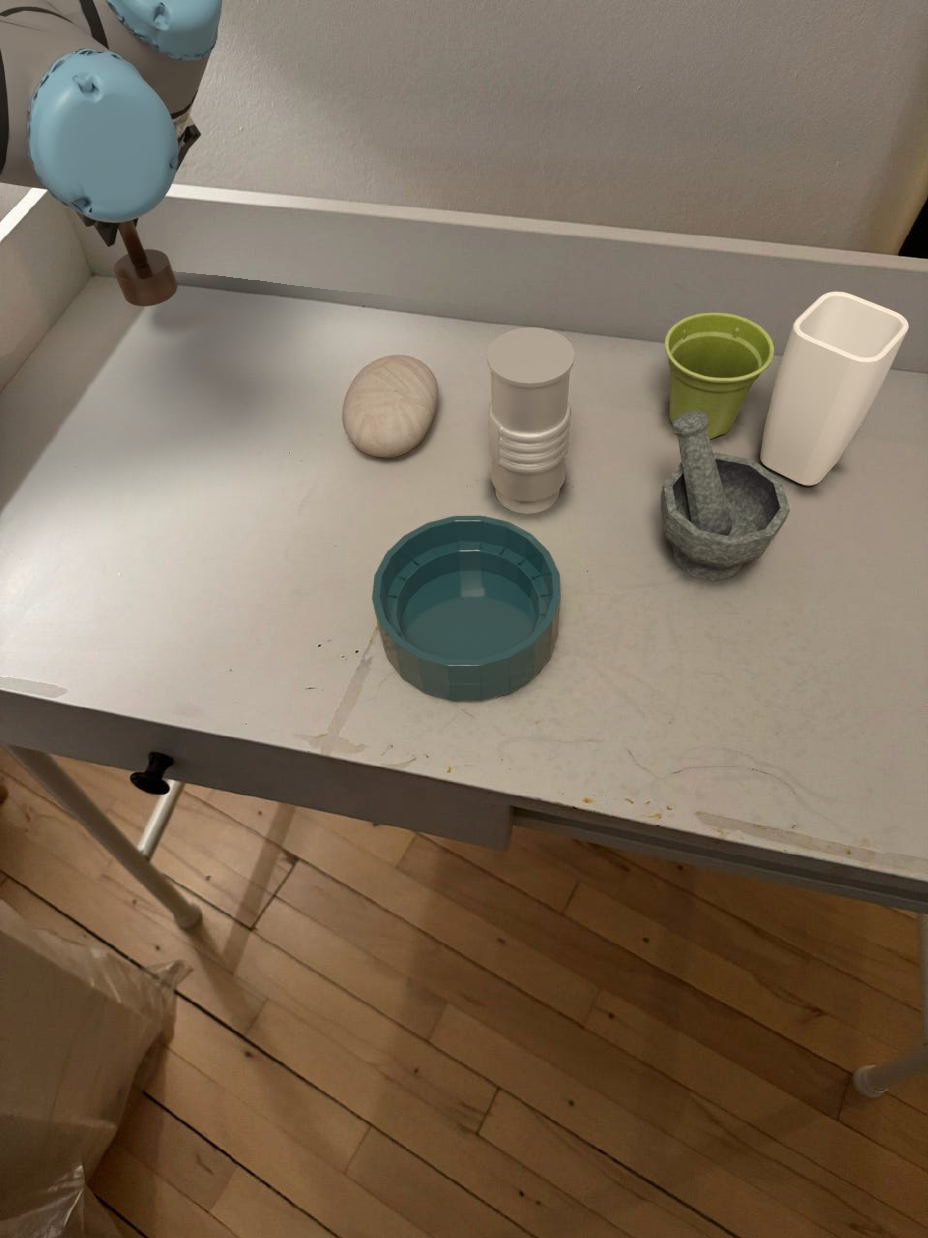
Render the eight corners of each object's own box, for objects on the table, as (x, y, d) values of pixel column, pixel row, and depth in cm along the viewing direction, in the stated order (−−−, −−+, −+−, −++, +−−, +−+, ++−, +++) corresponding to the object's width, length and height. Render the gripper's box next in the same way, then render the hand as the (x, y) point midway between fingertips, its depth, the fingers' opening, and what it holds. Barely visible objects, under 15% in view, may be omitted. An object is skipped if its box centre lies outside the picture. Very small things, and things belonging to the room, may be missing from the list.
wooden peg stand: (118, 307, 86) (52, 154, 73) (131, 275, 89) (70, 124, 77) (171, 306, 86) (114, 152, 73) (183, 274, 89) (130, 122, 76)
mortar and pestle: (790, 561, 70) (836, 458, 60) (710, 616, 68) (744, 517, 58) (696, 485, 76) (723, 379, 66) (618, 532, 73) (634, 429, 63)
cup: (853, 458, 77) (917, 319, 65) (813, 503, 74) (873, 366, 62) (782, 424, 80) (831, 285, 68) (741, 466, 77) (785, 328, 65)
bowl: (375, 706, 64) (364, 666, 59) (389, 562, 72) (380, 516, 67) (560, 706, 63) (564, 665, 59) (553, 561, 72) (556, 514, 67)
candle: (476, 479, 77) (469, 344, 65) (541, 453, 79) (546, 316, 67) (512, 528, 74) (512, 395, 61) (579, 500, 75) (592, 364, 63)
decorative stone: (369, 377, 86) (362, 337, 82) (453, 388, 85) (450, 347, 81) (330, 464, 79) (320, 424, 75) (420, 477, 78) (415, 437, 74)
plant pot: (743, 462, 77) (766, 387, 70) (642, 442, 79) (655, 368, 72) (757, 397, 82) (780, 321, 75) (662, 380, 84) (676, 305, 77)
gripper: (84, 184, 62) (72, 293, 83) (245, 115, 68) (195, 233, 88) (18, 85, 60) (22, 222, 81) (189, 22, 66) (152, 166, 86)
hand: (112, 228), depth 85 cm, fingers closed on wooden peg stand, 2 cm apart
